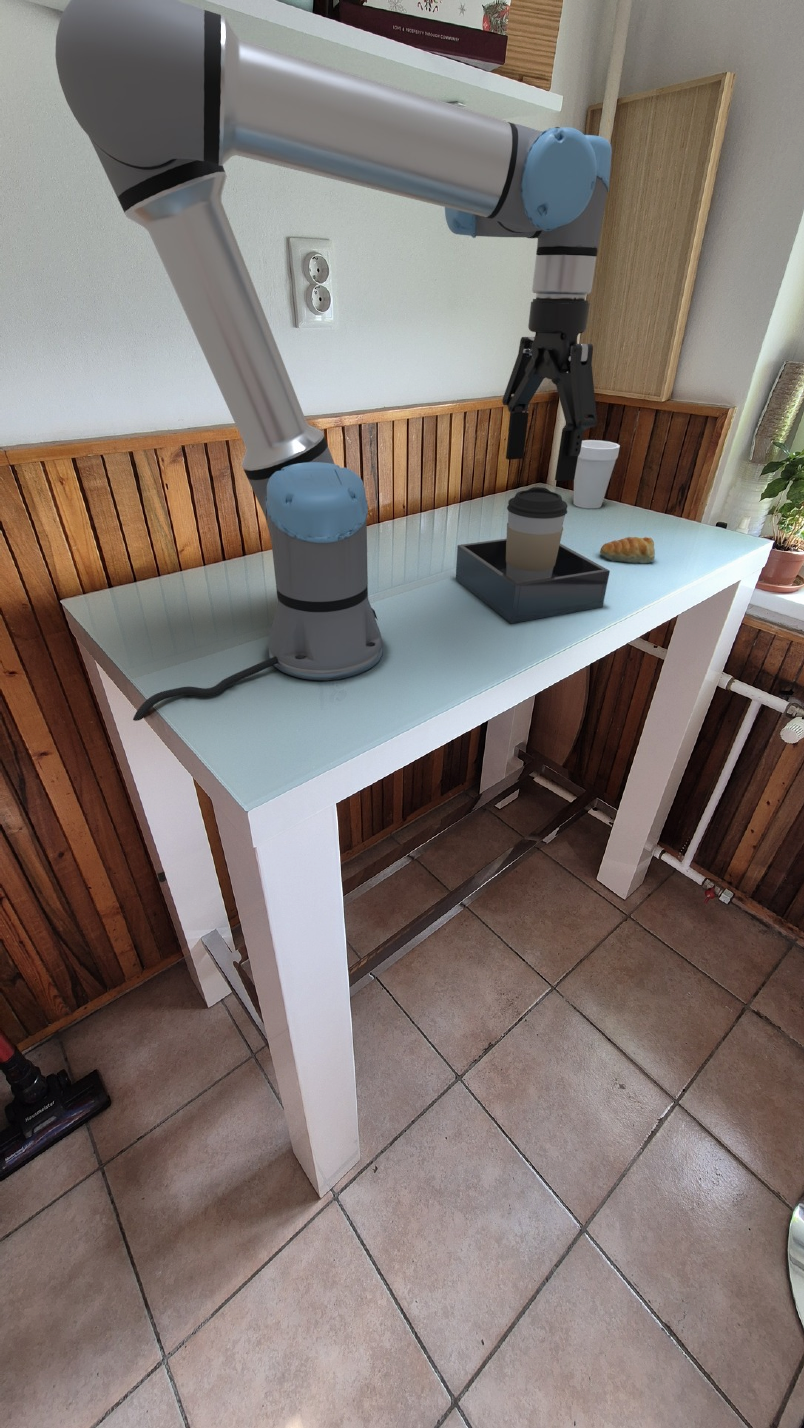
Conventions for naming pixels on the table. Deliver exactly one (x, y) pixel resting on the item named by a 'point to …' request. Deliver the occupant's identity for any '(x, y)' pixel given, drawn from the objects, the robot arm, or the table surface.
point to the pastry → (630, 550)
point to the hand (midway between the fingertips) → (538, 468)
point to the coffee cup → (533, 534)
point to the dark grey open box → (530, 583)
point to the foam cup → (594, 472)
